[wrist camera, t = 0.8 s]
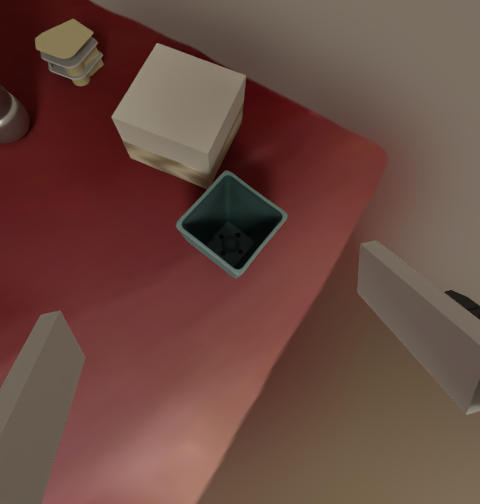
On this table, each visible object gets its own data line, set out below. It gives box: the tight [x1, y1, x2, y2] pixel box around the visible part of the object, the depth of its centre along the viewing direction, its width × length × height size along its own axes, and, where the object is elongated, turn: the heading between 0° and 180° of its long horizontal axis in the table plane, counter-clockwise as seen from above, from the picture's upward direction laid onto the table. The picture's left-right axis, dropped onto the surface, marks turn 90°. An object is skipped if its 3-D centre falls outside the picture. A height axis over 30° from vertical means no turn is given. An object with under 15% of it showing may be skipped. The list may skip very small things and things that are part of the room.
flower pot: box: [176, 171, 288, 278], centre depth 38 cm, size 9×9×9 cm
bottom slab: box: [122, 104, 243, 189], centre depth 44 cm, size 12×12×4 cm
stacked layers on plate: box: [35, 19, 104, 86], centre depth 46 cm, size 10×9×6 cm
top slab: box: [112, 43, 246, 174], centre depth 40 cm, size 12×12×4 cm
